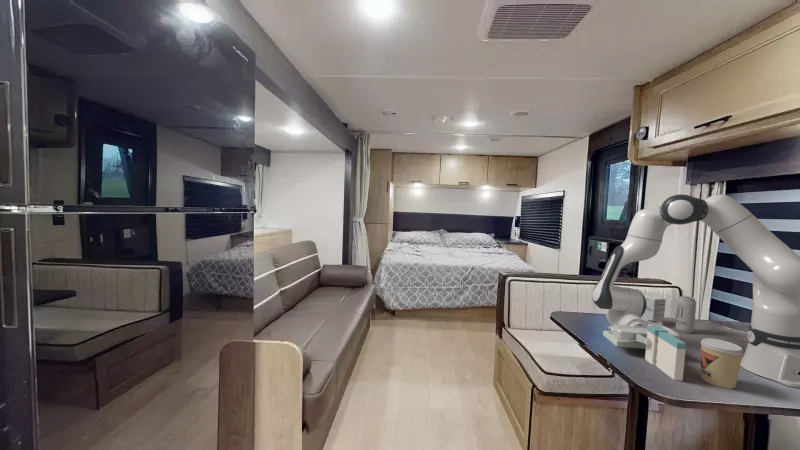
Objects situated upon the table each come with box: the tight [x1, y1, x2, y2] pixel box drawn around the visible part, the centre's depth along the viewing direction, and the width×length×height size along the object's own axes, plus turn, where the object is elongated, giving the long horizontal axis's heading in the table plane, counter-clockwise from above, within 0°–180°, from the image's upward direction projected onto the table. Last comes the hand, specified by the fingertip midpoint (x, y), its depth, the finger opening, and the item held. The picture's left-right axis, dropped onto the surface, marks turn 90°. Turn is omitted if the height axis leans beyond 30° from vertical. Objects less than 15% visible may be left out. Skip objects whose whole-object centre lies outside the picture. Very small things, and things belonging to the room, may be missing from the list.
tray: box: [602, 330, 646, 350], centre depth 130 cm, size 11×11×2 cm
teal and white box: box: [655, 332, 687, 382], centre depth 106 cm, size 3×9×12 cm, turn 172°
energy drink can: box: [675, 295, 697, 334], centre depth 142 cm, size 6×6×15 cm
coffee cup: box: [700, 337, 744, 390], centre depth 101 cm, size 9×9×12 cm
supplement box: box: [641, 293, 667, 326], centre depth 151 cm, size 7×7×13 cm
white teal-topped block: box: [644, 326, 668, 366], centre depth 113 cm, size 4×4×12 cm
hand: (658, 343), depth 112 cm, fingers closed on white teal-topped block, 4 cm apart
